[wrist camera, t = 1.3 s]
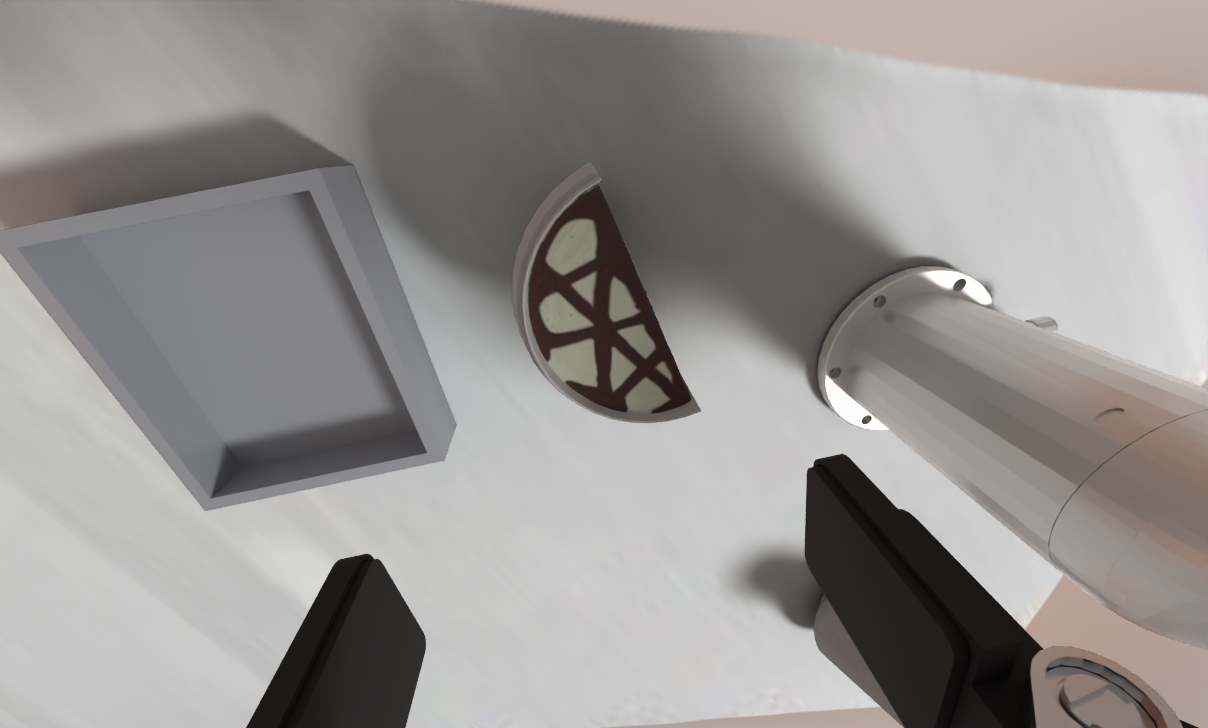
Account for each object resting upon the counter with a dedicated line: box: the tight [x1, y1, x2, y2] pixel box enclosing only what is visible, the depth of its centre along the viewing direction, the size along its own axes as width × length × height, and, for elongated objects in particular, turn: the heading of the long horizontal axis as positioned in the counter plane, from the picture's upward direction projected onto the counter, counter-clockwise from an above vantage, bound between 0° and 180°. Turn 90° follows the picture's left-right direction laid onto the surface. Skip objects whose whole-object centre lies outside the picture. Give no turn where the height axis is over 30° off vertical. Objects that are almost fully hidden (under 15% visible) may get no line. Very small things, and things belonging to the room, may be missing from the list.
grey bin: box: [0, 165, 456, 511], centre depth 26 cm, size 15×17×4 cm
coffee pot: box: [814, 594, 905, 728], centre depth 39 cm, size 21×12×15 cm, turn 91°
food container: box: [512, 161, 701, 423], centre depth 23 cm, size 12×6×10 cm, turn 25°
